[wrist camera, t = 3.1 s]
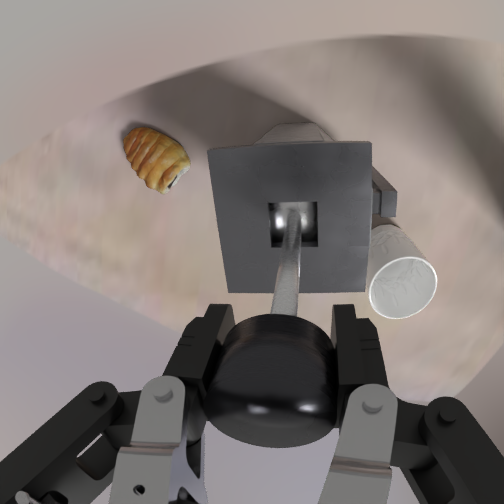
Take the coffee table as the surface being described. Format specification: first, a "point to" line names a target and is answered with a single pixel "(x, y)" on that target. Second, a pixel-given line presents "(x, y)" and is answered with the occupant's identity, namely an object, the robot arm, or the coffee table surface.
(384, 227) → the white cup
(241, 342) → the plunger
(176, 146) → the pastry
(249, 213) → the square french press
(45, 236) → the coffee table surface
